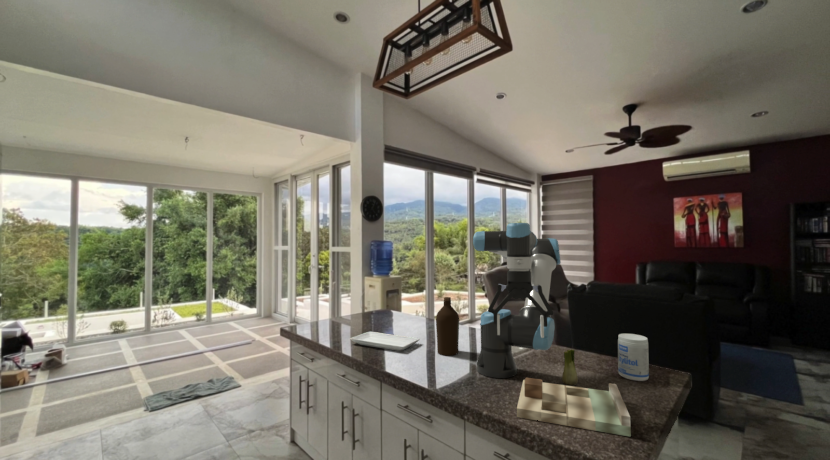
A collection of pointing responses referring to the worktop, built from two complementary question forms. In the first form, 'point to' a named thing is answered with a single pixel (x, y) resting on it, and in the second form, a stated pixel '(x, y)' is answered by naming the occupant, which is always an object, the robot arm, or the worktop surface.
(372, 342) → the tray
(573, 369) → the fennel bulb
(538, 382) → the block
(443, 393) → the worktop surface
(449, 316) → the olive oil
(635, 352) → the supplement tub
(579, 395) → the board
